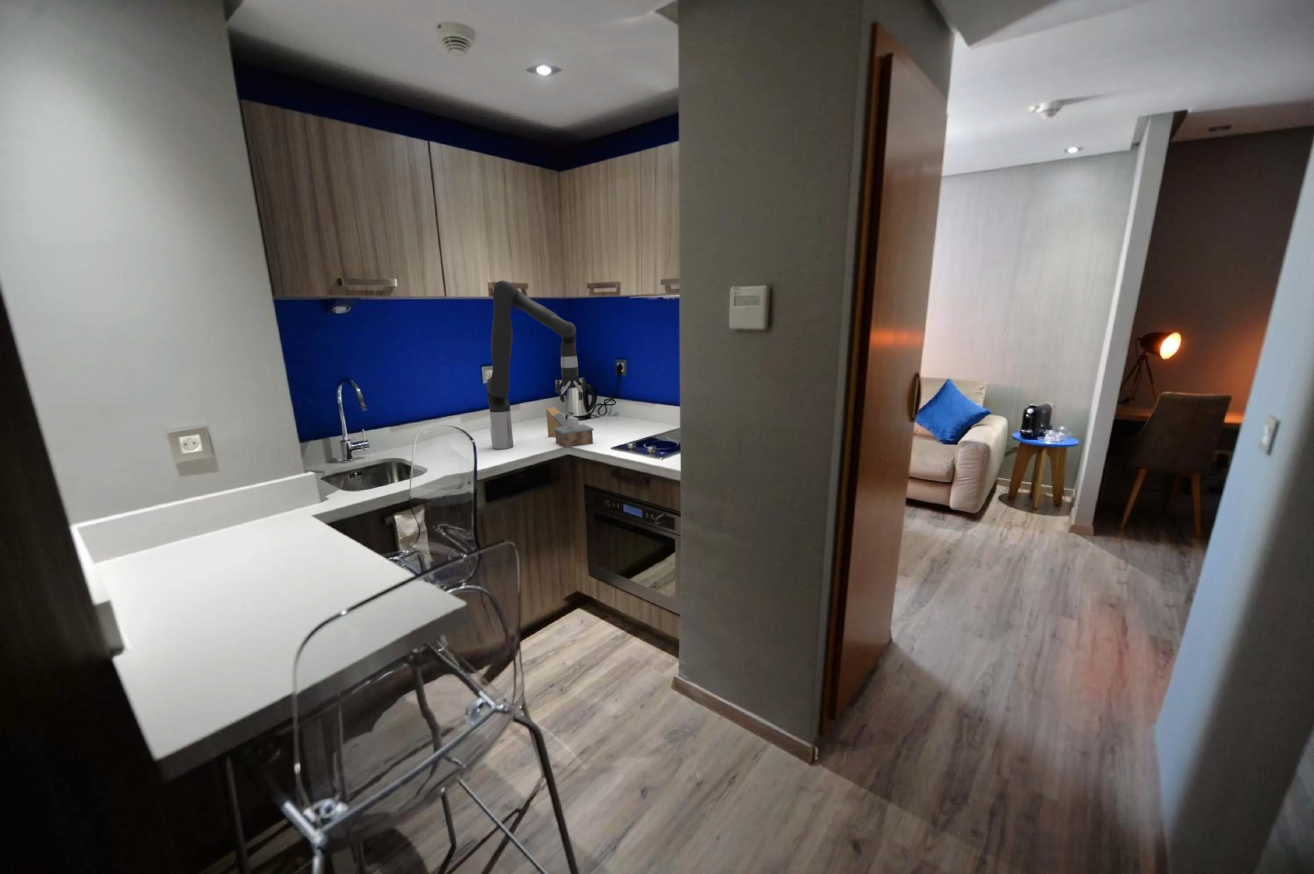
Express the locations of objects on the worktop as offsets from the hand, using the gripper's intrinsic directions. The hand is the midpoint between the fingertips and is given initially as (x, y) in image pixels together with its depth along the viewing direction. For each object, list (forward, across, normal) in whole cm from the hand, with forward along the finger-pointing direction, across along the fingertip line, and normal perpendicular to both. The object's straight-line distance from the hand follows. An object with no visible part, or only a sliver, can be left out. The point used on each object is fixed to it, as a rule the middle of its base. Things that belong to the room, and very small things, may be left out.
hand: (571, 401), depth 244 cm
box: (+21, 0, 0) cm, 21 cm away
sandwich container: (+21, +2, +18) cm, 28 cm away
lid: (+14, 0, 0) cm, 14 cm away
